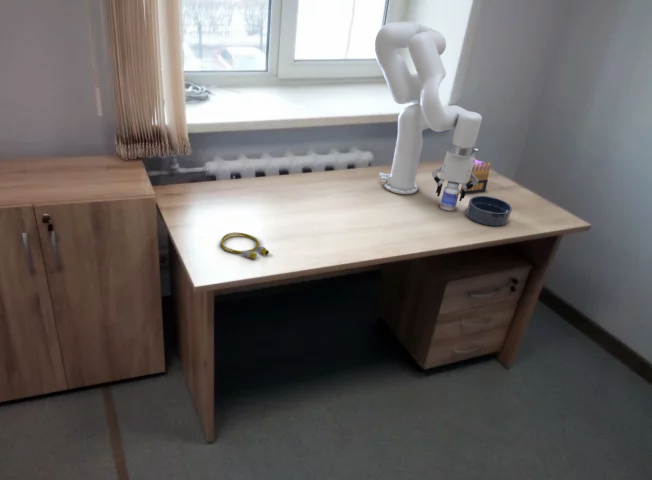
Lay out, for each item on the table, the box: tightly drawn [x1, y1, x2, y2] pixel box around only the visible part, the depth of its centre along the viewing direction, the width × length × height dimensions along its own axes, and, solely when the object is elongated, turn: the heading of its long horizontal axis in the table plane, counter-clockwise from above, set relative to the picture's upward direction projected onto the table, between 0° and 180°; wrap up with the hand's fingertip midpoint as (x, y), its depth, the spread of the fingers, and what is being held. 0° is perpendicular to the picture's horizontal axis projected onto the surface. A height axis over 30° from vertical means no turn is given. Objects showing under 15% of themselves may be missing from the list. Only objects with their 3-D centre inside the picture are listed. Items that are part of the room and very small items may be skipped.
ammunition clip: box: [459, 161, 492, 195], centre depth 202 cm, size 11×2×12 cm, turn 111°
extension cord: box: [220, 232, 270, 260], centre depth 158 cm, size 12×16×2 cm
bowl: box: [465, 195, 513, 227], centre depth 185 cm, size 14×14×5 cm
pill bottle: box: [439, 181, 460, 212], centre depth 189 cm, size 5×5×10 cm
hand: (449, 197), depth 189 cm, fingers open, 7 cm apart
